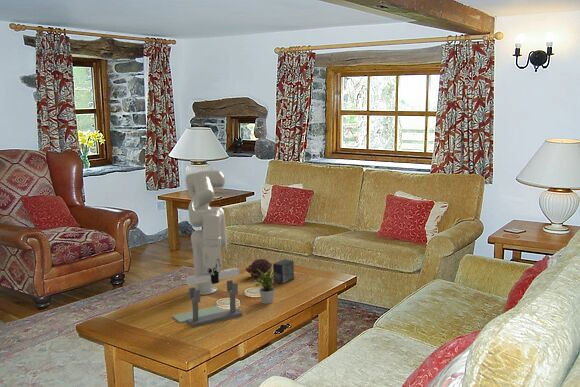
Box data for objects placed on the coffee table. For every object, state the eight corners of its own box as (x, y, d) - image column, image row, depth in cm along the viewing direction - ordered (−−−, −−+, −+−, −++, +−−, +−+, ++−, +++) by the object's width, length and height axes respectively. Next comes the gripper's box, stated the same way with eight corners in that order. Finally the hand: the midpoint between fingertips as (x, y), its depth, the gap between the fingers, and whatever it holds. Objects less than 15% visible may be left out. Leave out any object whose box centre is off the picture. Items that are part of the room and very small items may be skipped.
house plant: (256, 295, 298) (255, 263, 295) (284, 296, 295) (283, 264, 293) (248, 305, 284) (247, 271, 282) (277, 306, 282) (276, 273, 279)
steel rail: (186, 283, 259) (186, 276, 259) (236, 273, 272) (236, 267, 271) (189, 285, 257) (188, 278, 256) (239, 275, 269) (239, 269, 269)
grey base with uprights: (186, 322, 263) (185, 288, 261) (236, 311, 276) (235, 279, 273) (192, 327, 258) (190, 292, 256) (242, 315, 271) (241, 282, 268)
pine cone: (266, 271, 337) (266, 254, 335) (278, 275, 330) (278, 257, 328) (241, 278, 325) (241, 260, 323) (253, 282, 318) (253, 264, 316)
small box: (284, 277, 326) (284, 258, 325) (294, 279, 323) (294, 260, 321) (272, 282, 318) (272, 263, 316) (282, 284, 314) (282, 265, 312)
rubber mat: (172, 316, 271) (172, 315, 271) (230, 304, 286) (230, 302, 286) (180, 323, 263) (179, 321, 263) (239, 309, 278) (239, 308, 278)
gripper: (196, 238, 266) (197, 278, 270) (212, 247, 252) (213, 289, 256) (212, 236, 270) (213, 275, 273) (228, 244, 256) (229, 285, 260)
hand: (213, 281), depth 265 cm, fingers closed on steel rail, 3 cm apart
